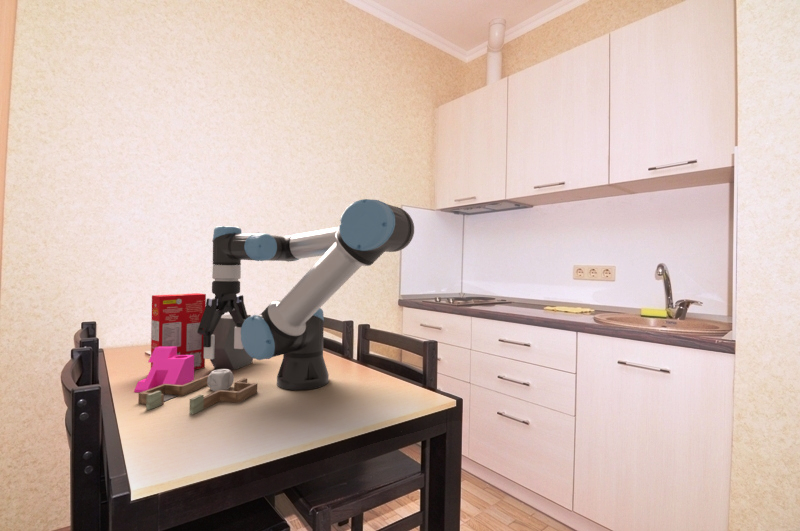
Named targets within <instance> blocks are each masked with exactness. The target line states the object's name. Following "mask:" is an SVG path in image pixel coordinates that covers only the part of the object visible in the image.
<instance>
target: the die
mask: <svg viewBox="0 0 800 531" xmlns="http://www.w3.org/2000/svg"><path fill="white" fill-rule="evenodd" d="M208 375H209V376H208V380H207V383H208V385H207V386H208V388H209V389H210V390H211V391H212V392H215V391H218V390H227V391H228V390H229V389H231V388H232V386H233V385H234V381H235V380H234V379H235V376H234V373H233V372H232V370H229V369H214V370H212V371H211V372H210V373H209V374H208Z"/></svg>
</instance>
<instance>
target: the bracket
mask: <svg viewBox="0 0 800 531" xmlns="http://www.w3.org/2000/svg"><path fill="white" fill-rule="evenodd" d="M151 362H154V363H153V365H152V367H151V366H150V370H149V372H148V373H147V376H146V377H145V378H143V379H141V380H138V381H137V383H136V385H135V388H134V389H133V390H134V392H133V393H140V392H143V391H146V390H149V389H151V388H154V387H157V386H160V385H162V384H175V385H184V384H186V383H189V382H192V381H194V380H195V370H194V355H177V346H159V347H156V348H155V349H154V351H153V353H152V355H151V354H150V358H149V360H148V362H147V363H151Z"/></svg>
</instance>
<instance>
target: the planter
mask: <svg viewBox="0 0 800 531" xmlns="http://www.w3.org/2000/svg"><path fill="white" fill-rule="evenodd" d="M247 316H248V317H250V316H252V315H251V314H247ZM243 320H245V319H243ZM235 327H238V326H236V324H235V322H234V320H233V318H232V317H231V315H230V313H229V314H224V315H222V316H221V318H220V320H219V322H218V324H217V326H216V328H215V330H214V332H213V334H212V335H215V346H214V359H209V361H210V362H211V365H212V366H213V369H216V370H218V369H229V370H230V371H236V370H238V369H241V368H243V367H245V366H248V365H250V364H253V361H254V358H252V357H251V356H249V355H248V354H247V352H246V351H245V349H244V347H243V349H234V330H235Z"/></svg>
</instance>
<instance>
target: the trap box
mask: <svg viewBox="0 0 800 531" xmlns="http://www.w3.org/2000/svg"><path fill="white" fill-rule="evenodd" d="M208 376H209V374H208V375H205V376H202V377H199V378H197V379H194V380H193V381H191V382H189V383H186V384H184V385H175V384H162V385H160V386H157V387H154V388H151V389H149V390H146V391H143V392H138V401H137V403H138V404H145V407H146V410H148V411H150V410H153V409H155V408H157V407H160V406H162V405H164V404H165V402H168V401H169V400H171V399H174V398H177V397H179V396H181V397H183V396H185V395H188V394H191V393H192V392H195V391H198V390H199V389H202V388H204V387H206V386H208V383H207V380H208ZM233 387H234V389H233V390H228V389H227V390H218V391H212V392H211V393H209V394H207V395H204V394H198V395H195V396H193V397H190V399H189V415H194V414H197V413H199V412H201V411H202V410H205V409H207V408H209V407H211V406H213V405H215V404H217V403H218V402H227V403H238V404H239V403H241V402H243V401H245V400H247V399H249V398H250V397H252V396H254V395H256V394H257V393H258V383H257V382H248V377H246V378H245V377H244V378H241V379H240V380H237V381H235V382H233Z"/></svg>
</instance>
